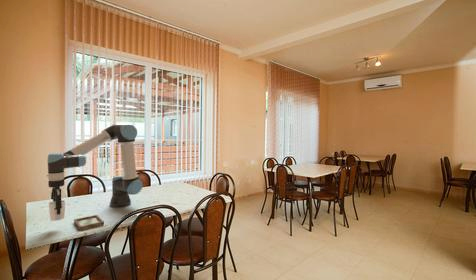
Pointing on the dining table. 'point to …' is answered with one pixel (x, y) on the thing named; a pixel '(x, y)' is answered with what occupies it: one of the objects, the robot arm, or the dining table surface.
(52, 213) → the pale pink cup
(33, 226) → the dining table surface
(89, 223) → the walnut tray
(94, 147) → the robot arm
